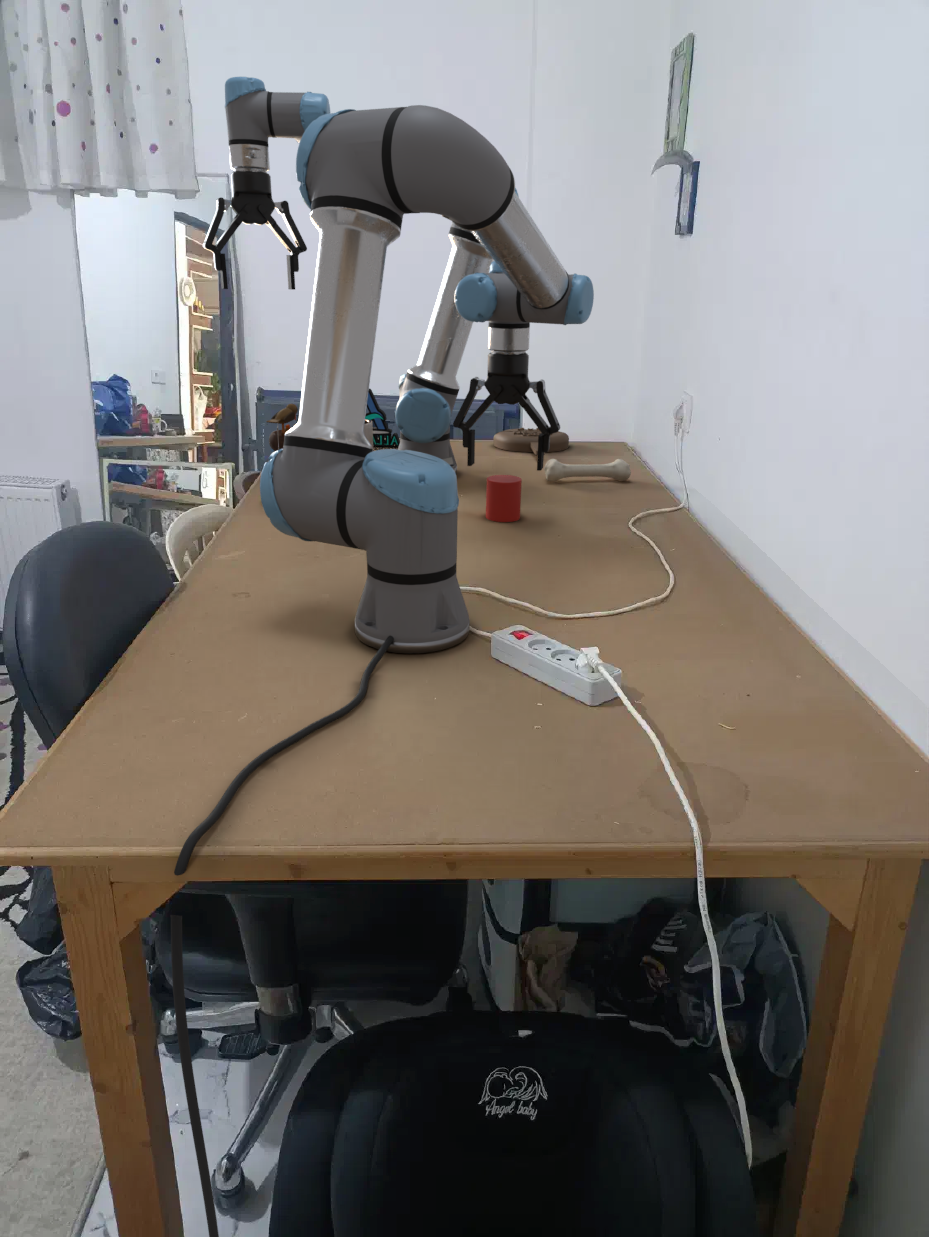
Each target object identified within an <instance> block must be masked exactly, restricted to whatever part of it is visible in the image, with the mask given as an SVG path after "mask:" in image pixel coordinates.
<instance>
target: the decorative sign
mask: <svg viewBox="0 0 929 1237" xmlns="http://www.w3.org/2000/svg"><path fill="white" fill-rule="evenodd" d="M366 410H368V412H366V415H365V419H368V420H371V421H372V423H373V424H374V426H373V447H391V448H393V447H394V446H395V447H396V448H398V447H399V444H400V436H399V434H398V433H397V432H394V433H393V430H392V429H391V428H389V425H388V423H387V420H388V418H387V414H386V412H385V411H384V410H382V408H381V407H380V405H379V403H378V401H377V399H376V397H375V394H374V391H373V390H372V389H371V388H369V392H368V400H367V407H366ZM392 433H393V434H392Z"/></svg>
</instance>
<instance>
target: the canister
mask: <svg viewBox="0 0 929 1237" xmlns="http://www.w3.org/2000/svg"><path fill="white" fill-rule="evenodd" d="M485 488H486V490H485V492H486V495H485V518H486V520H488V521H492V522H496V523H497V522H498V523H512V522H517V521H518V520H519V521H520V519H521V503H522V502H521V501H522V478H521V477H519V476H517V475H511V474H493V475H489V476H487V477H486V487H485Z"/></svg>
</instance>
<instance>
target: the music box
mask: <svg viewBox="0 0 929 1237" xmlns="http://www.w3.org/2000/svg"><path fill="white" fill-rule="evenodd" d="M298 411H299V408H298V406H297V405H296V404H295V403H288V404H287V405H286V407H285V408H282V409H280V410H279V411H277V412H276V413H274V415H273V416H272V417H271V418H270V419H268V420H266V423H268V424H277V426H276V430H274V431H272V432H271V433H270V434H269V437H268V444H269V447H270V449H272V450H273V452H275V451H278V450H280V449H283V446H284V438H285V433H286V432H287V431H289V430H290V429H291V428H292V427H291V424H290V422H293V421H297V413H298ZM296 424H297V423H295V424H293V427H294V426H295V425H296ZM279 425H281V429H279Z"/></svg>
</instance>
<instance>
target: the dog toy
mask: <svg viewBox="0 0 929 1237" xmlns="http://www.w3.org/2000/svg"><path fill="white" fill-rule="evenodd" d="M543 469H544V475H545V480H546V481H547V482H559V481H560V480H562V479H567V478H579V477H580V478H583V477H584V478H585V477H586V478H589V477H590V478H591V477H596V478H600V477H601V478H611V479H613V480H616V481H618V482H622V481H626V480H629V479H630V477H631V474H632V471H631V468H630V464H629V463H628V462H627V461H625V460H624V459H623V458H616V459H615V460H614V461H612V462H609V463H601V464H599V463H598V464H590V463H589V464H587V463H586V464H584V463H583V464H568V463H562V462H560V461H559V460H558V459H556V458H551V459H548V460H547V461H546V462H545V465H544V466H543Z"/></svg>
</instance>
